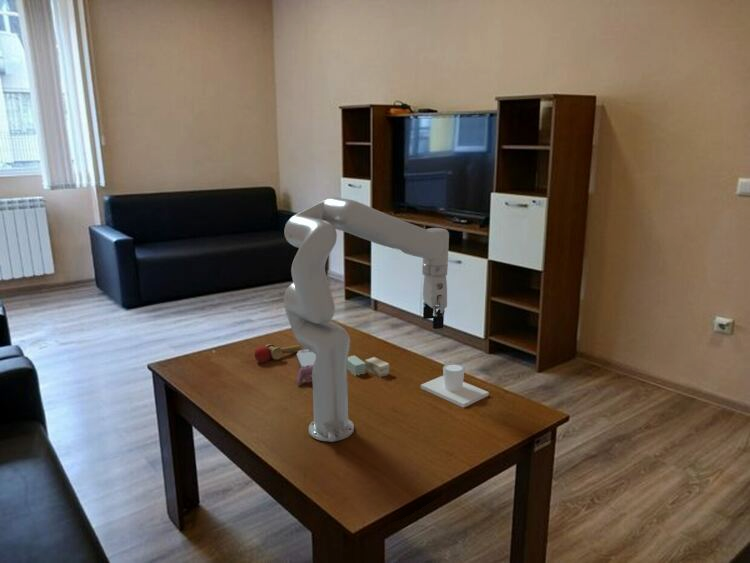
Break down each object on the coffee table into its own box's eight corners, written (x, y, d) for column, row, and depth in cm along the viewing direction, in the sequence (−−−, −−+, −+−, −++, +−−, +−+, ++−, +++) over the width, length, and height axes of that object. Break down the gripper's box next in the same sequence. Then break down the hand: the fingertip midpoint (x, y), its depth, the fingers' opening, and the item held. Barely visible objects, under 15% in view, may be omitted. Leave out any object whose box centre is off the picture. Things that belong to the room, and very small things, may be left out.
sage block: (365, 374, 201) (365, 363, 200) (355, 376, 199) (355, 365, 198) (354, 365, 208) (354, 355, 207) (344, 368, 206) (344, 357, 205)
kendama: (292, 351, 224) (249, 357, 213) (295, 337, 222) (251, 341, 211) (302, 361, 219) (258, 367, 208) (305, 346, 217) (261, 351, 206)
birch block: (389, 374, 201) (389, 363, 200) (380, 377, 198) (380, 366, 197) (374, 367, 207) (374, 356, 206) (365, 370, 204) (365, 359, 203)
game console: (326, 365, 203) (303, 368, 201) (327, 371, 204) (303, 374, 202) (317, 346, 220) (295, 349, 218) (317, 352, 220) (295, 355, 218)
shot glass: (447, 393, 183) (448, 373, 181) (439, 384, 190) (439, 364, 188) (467, 391, 185) (468, 370, 183) (458, 382, 191) (459, 362, 190)
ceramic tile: (488, 395, 185) (488, 392, 184) (463, 407, 177) (463, 404, 177) (445, 377, 198) (445, 374, 197) (420, 388, 190) (420, 384, 190)
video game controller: (328, 386, 195) (328, 365, 196) (326, 386, 191) (327, 364, 192) (298, 386, 196) (299, 364, 197) (296, 385, 191) (297, 364, 193)
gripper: (456, 275, 170) (454, 331, 174) (437, 262, 186) (435, 314, 190) (431, 276, 168) (429, 333, 173) (414, 263, 185) (413, 315, 189)
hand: (432, 323), depth 182 cm, fingers open, 9 cm apart
